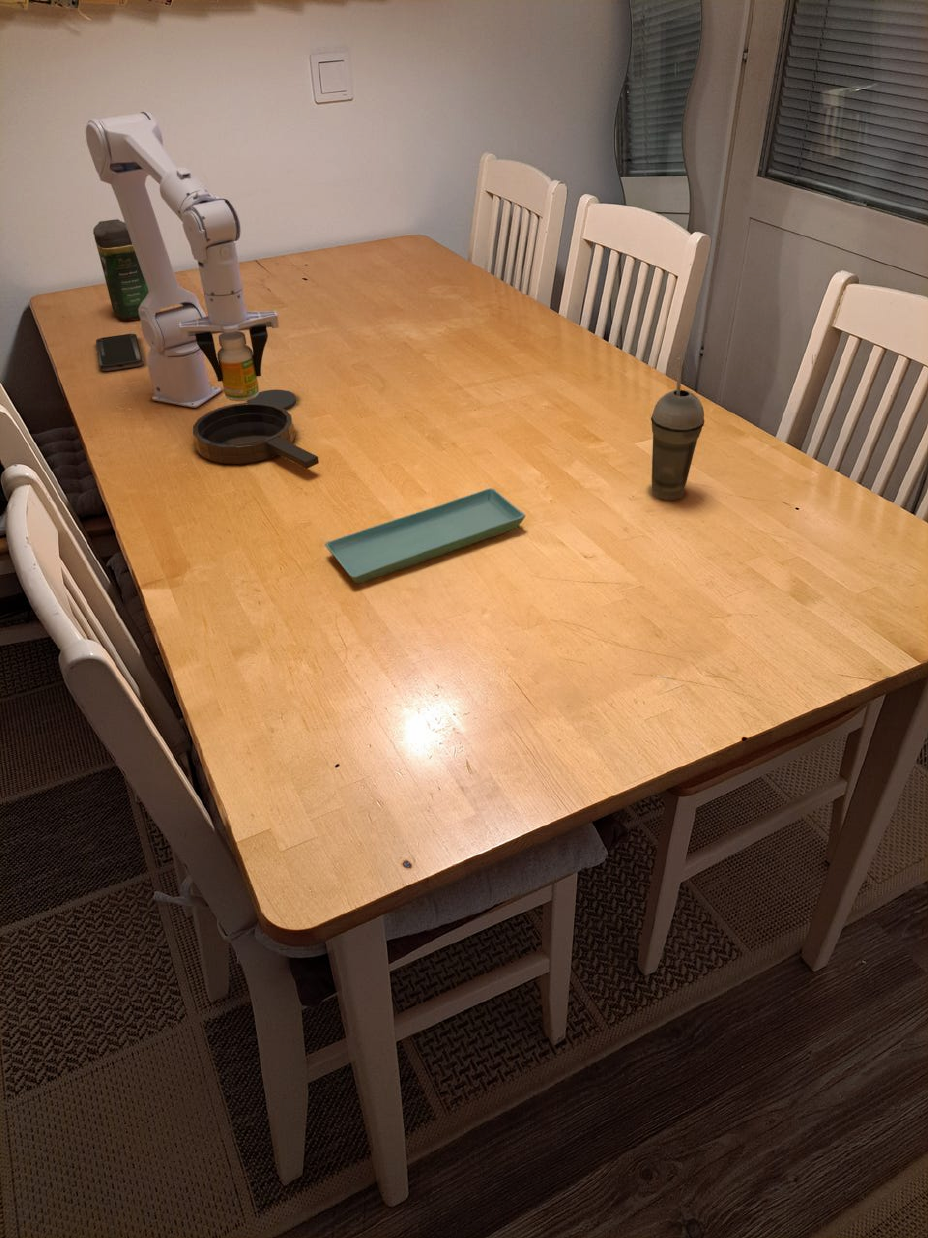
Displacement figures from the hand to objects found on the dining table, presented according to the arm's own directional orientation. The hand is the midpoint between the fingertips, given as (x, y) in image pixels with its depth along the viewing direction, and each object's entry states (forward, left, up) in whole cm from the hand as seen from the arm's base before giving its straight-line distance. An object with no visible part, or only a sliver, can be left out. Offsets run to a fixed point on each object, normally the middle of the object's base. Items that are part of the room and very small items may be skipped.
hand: (238, 376), depth 142 cm
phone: (-43, +19, -10) cm, 48 cm away
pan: (+1, -2, -10) cm, 10 cm away
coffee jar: (-55, +39, -10) cm, 68 cm away
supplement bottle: (0, 0, -3) cm, 3 cm away
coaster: (-3, +12, -10) cm, 16 cm away
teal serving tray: (+41, -18, -10) cm, 46 cm away
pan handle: (+12, -6, -8) cm, 16 cm away
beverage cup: (+68, +7, -10) cm, 69 cm away
